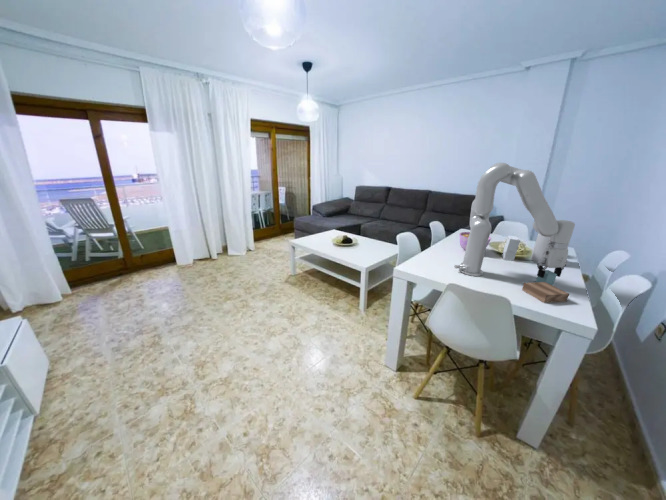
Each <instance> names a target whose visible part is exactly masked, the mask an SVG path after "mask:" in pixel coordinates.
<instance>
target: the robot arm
mask: <svg viewBox="0 0 666 500" xmlns="http://www.w3.org/2000/svg"><path fill="white" fill-rule="evenodd" d="M500 182H501V183H504V184H507V185H510V186H514V187H515V188H516V190H517V193H518V194H519V197H520V200H521V202H522V205H523V206H524V208H525V209H526V210H527V211H528V212H529V213H530V215H531V216H532V218H533V220H534V221H533V222H532V229H533V230H534V231H535V232H537V233H539V234H541V235H542V236H545V237H550V240H549V243H548V247H547V248H546V250H545V252H544V254H543V257H542V260H540V261H538V262H536V265H537V266H536V267H537V269H538V271H537V274H536V276H537V277H538V276H539V277H541V278H543V277H544V275H545V271H544V270H547V269H554V271H553V272H554V273H556V274H557V275H556V277H558V278H560V277H561V274H562V272H563V270H564V269H565V267H567V265H568V264H569V260H568V255H569V244H570V241H571V238H572V235H573V233H574V229H575V226H576V224H575V223H576V222H573V221H571V220H565V219H558V220H557V219H556V216H555V215H554V211H552V209H551V207H550V205H549V203H548V201H547V200H546V197H545V196H544V193H543V191H542V188H541V186H540V183H539V181H538V178H537V176H536V174H535V173H534V171H532V170H529V169H528V170H527V169H521V168H518V167H514V166H511V165H509V163H506V162H497V163H494V164H492V165H491V166H490V167H489V168H488V169H487V170H486V171H485V172H483V174H482V175H481V176H480V178H479V180H478V182H477V187H476V191H475V196H474V197H475V198H474V200H472V203H471V206H470V207H471V208H470V215H469V216H470V217H469V227H470V231H469V232H470V234H469V237H468V241H467V246H466V251H465V252H464V256H463V260H462V261H463V262H461V263H460V264H454V269H458V271H459V272H460V273H462V274H465V275H467V276H471V277H472V276H473V277H481V276H483V274H484V271H483V270H482V266H483V261H484V258H485V254H486V250H487V247H488V246H487V242H488V238H489V236H490V235H491V232H492V223H491V221H490V214H491V213H492V211H493V210H494V202H495V194H496V189H497V186H498V184H499V183H500ZM490 237H491V236H490ZM486 246H487V247H486Z"/></svg>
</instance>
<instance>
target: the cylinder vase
mask: <svg viewBox="0 0 666 500" xmlns="http://www.w3.org/2000/svg"><path fill="white" fill-rule="evenodd" d="M537 233H538V232H537ZM549 240H550V237H545V236H542V235H541V234H539V233H538V234H537V236H536V241H535V244H534V247H533V249H532V253H531V256H530V260H532V261H533V262H536V263H537V262H538V261H540V260H542V257H543V254H544V252H545V250H546V248H547V247H548V243H549Z"/></svg>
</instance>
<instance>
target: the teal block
mask: <svg viewBox="0 0 666 500" xmlns="http://www.w3.org/2000/svg"><path fill="white" fill-rule="evenodd" d="M544 271H545V275H544V277H543V278H541V277H539V276H537V278H536V280H535V282H546V283H548V284H550V285H552V286H554V284H555V281H556V278H557V276H556V275H557V274H556V273H554V271H551V270H549V269H545V270H544Z"/></svg>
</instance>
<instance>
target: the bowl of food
mask: <svg viewBox="0 0 666 500" xmlns="http://www.w3.org/2000/svg"><path fill="white" fill-rule="evenodd" d="M469 234H470V231H463V232H459V246H460V248H461V249H462V250H465V251H466V246H467V241H468V237H469ZM491 240H492V237H491V236H489V238H488V242H487V246H486V248H487V247H488V245H489V244H490V242H491Z"/></svg>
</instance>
